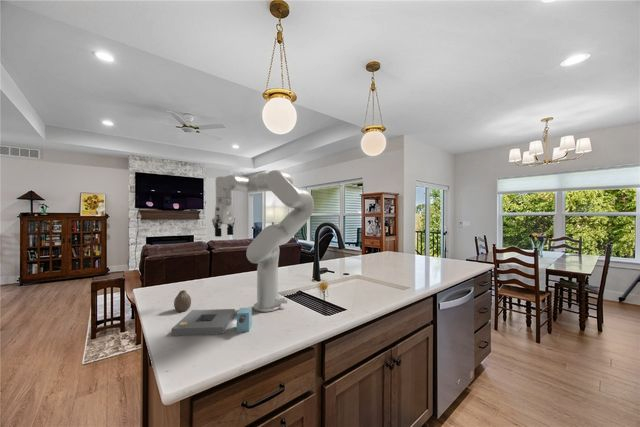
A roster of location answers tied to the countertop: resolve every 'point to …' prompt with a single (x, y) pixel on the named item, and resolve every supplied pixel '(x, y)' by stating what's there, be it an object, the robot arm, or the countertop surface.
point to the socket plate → (194, 325)
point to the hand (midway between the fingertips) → (224, 235)
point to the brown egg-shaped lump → (182, 301)
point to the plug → (244, 319)
